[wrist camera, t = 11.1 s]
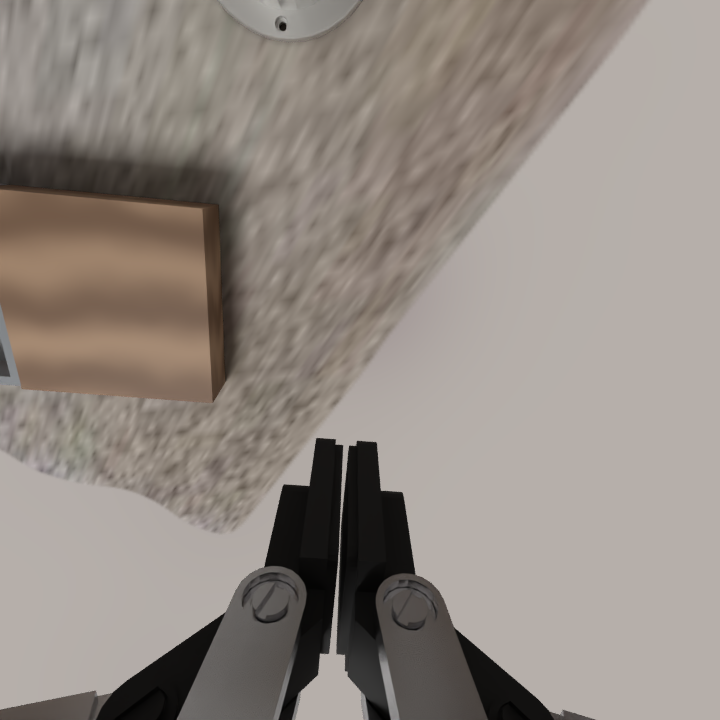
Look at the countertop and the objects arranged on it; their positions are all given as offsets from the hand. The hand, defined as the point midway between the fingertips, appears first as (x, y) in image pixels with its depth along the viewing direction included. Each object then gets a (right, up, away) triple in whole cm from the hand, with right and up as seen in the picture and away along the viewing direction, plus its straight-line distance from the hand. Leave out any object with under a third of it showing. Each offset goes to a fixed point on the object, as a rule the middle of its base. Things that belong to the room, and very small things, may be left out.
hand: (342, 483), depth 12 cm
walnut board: (-20, +9, +25) cm, 33 cm away
